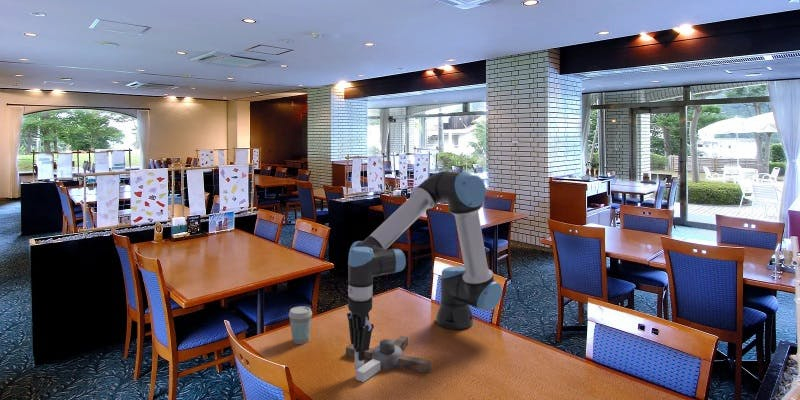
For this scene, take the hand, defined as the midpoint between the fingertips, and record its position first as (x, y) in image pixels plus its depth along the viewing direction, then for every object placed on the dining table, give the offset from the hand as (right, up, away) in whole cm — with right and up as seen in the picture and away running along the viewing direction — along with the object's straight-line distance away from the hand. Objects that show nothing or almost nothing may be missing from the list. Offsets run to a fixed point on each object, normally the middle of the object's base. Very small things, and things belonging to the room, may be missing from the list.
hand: (359, 368), depth 143 cm
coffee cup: (-24, +1, +24) cm, 34 cm away
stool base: (+9, -1, +9) cm, 12 cm away
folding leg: (+3, -2, 0) cm, 3 cm away
